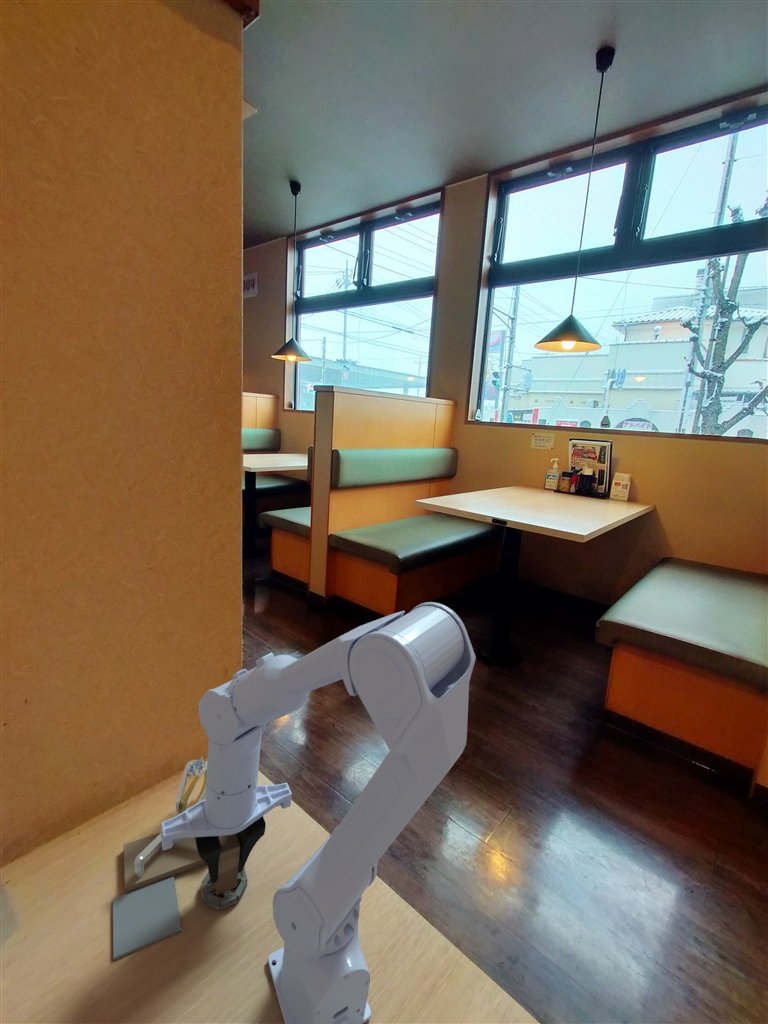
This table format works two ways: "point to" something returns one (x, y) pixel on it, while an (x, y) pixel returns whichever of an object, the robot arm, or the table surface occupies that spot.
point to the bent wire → (146, 856)
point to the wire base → (159, 861)
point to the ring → (189, 771)
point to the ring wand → (225, 875)
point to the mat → (144, 917)
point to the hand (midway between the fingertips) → (225, 870)
